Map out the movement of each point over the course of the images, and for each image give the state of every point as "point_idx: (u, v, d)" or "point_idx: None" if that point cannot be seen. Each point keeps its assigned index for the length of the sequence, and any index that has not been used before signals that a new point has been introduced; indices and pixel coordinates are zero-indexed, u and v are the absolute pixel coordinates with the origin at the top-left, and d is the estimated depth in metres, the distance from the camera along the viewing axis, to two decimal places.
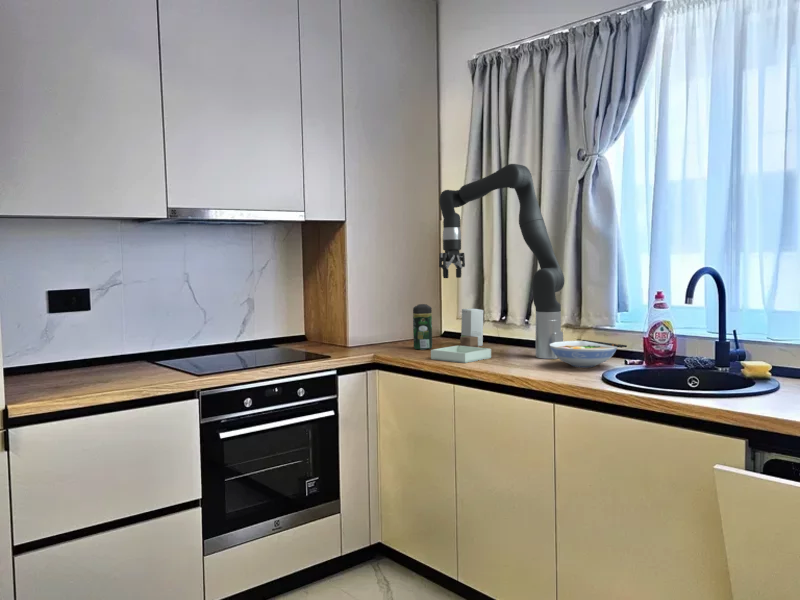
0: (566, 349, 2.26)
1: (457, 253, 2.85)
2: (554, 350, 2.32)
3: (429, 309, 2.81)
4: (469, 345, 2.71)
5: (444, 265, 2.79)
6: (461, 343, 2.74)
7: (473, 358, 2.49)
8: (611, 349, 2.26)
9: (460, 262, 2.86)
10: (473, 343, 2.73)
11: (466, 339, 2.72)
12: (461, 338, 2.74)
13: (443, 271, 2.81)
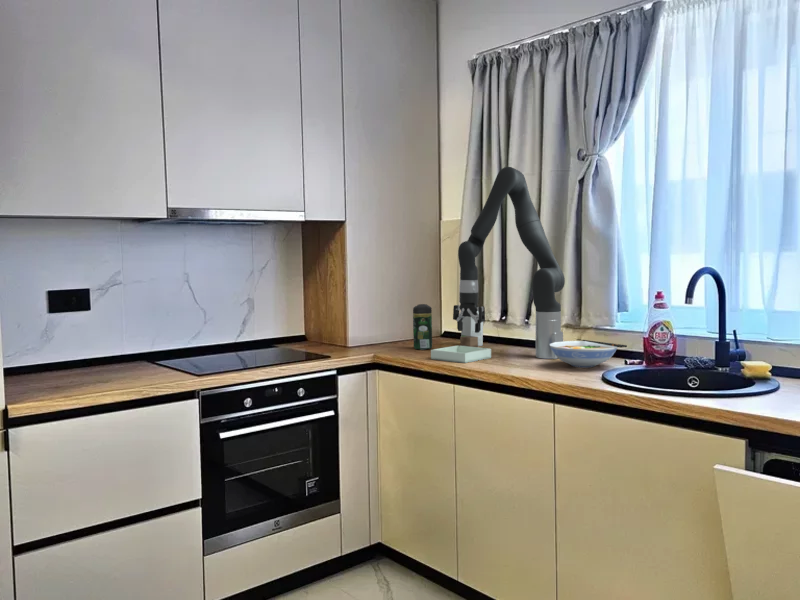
0: (566, 349, 2.26)
1: None
2: (554, 350, 2.32)
3: (429, 309, 2.81)
4: (469, 345, 2.71)
5: None
6: (461, 343, 2.74)
7: (473, 358, 2.49)
8: (611, 349, 2.26)
9: None
10: (473, 343, 2.73)
11: (466, 339, 2.72)
12: (461, 338, 2.74)
13: (478, 325, 2.71)
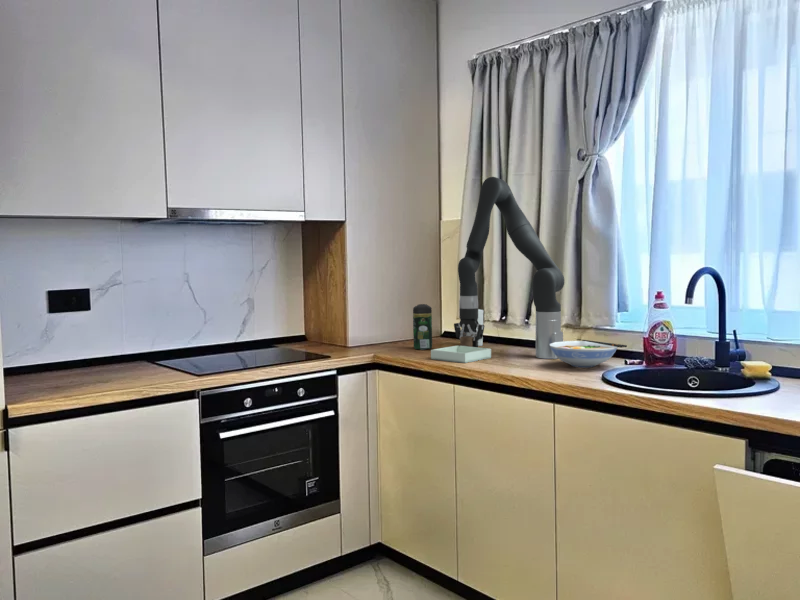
0: (566, 349, 2.26)
1: None
2: (554, 350, 2.32)
3: (429, 309, 2.81)
4: (469, 345, 2.71)
5: None
6: (461, 343, 2.74)
7: (473, 358, 2.49)
8: (611, 349, 2.26)
9: (466, 332, 2.77)
10: None
11: (466, 339, 2.72)
12: (461, 338, 2.74)
13: (476, 343, 2.72)
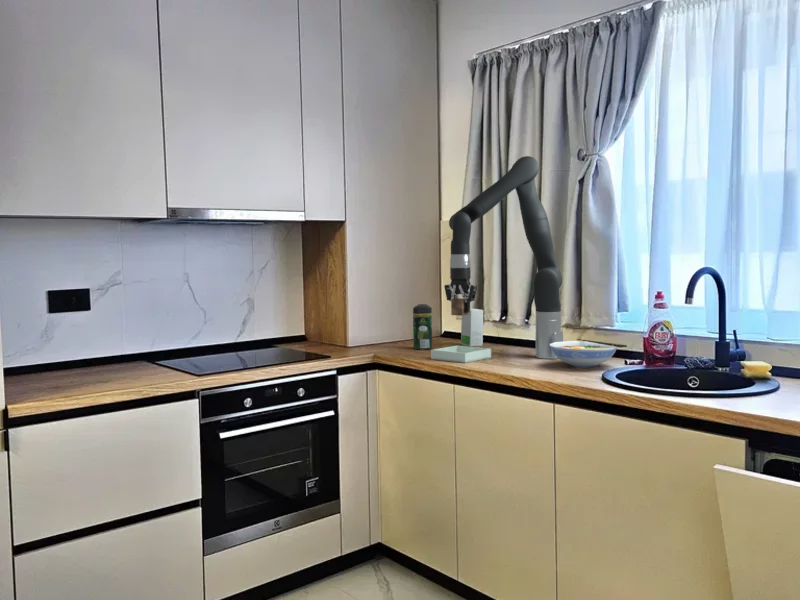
0: (566, 349, 2.26)
1: None
2: (554, 350, 2.32)
3: (429, 309, 2.81)
4: (461, 307, 2.52)
5: None
6: (452, 306, 2.55)
7: (473, 358, 2.49)
8: (611, 349, 2.26)
9: (457, 294, 2.58)
10: None
11: (457, 301, 2.53)
12: (452, 300, 2.54)
13: (468, 305, 2.52)
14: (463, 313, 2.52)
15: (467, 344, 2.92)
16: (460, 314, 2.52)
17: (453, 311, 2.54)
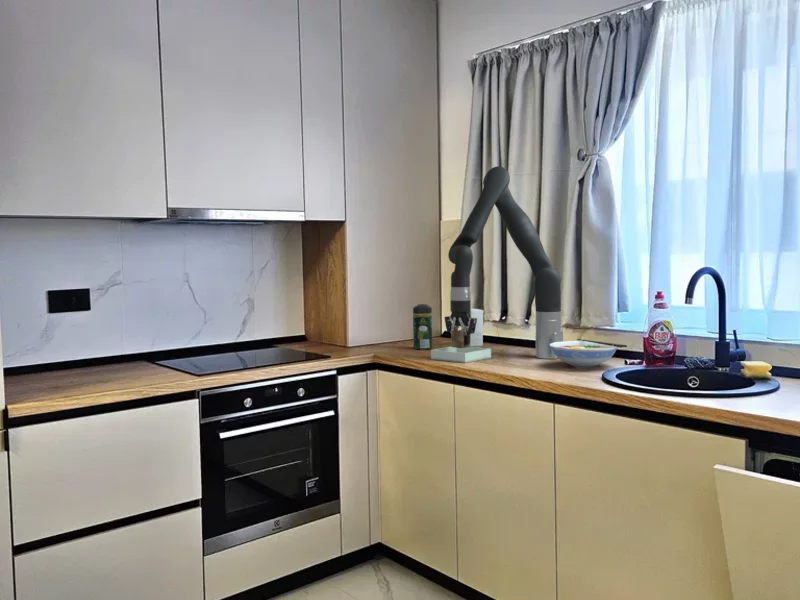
0: (566, 349, 2.26)
1: None
2: (554, 350, 2.32)
3: (429, 309, 2.81)
4: (460, 340, 2.53)
5: None
6: (452, 338, 2.56)
7: (473, 358, 2.49)
8: (611, 349, 2.26)
9: (457, 326, 2.59)
10: None
11: (457, 333, 2.54)
12: (452, 332, 2.55)
13: (468, 338, 2.53)
14: (463, 345, 2.53)
15: None
16: (460, 346, 2.53)
17: (453, 343, 2.55)
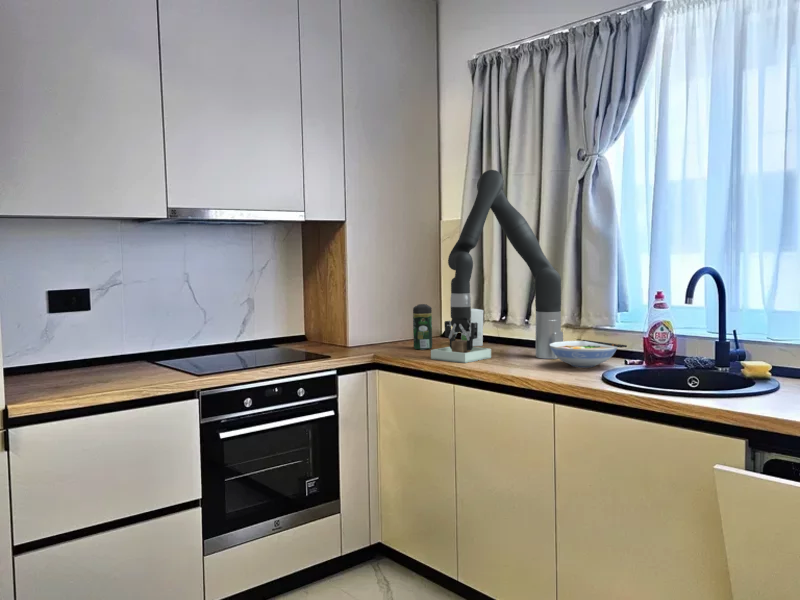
0: (566, 349, 2.26)
1: None
2: (554, 350, 2.32)
3: (429, 309, 2.81)
4: (461, 350, 2.53)
5: None
6: (452, 348, 2.56)
7: (473, 358, 2.49)
8: (611, 349, 2.26)
9: None
10: (465, 348, 2.54)
11: (458, 343, 2.54)
12: (452, 342, 2.55)
13: (470, 343, 2.52)
14: None
15: None
16: None
17: None
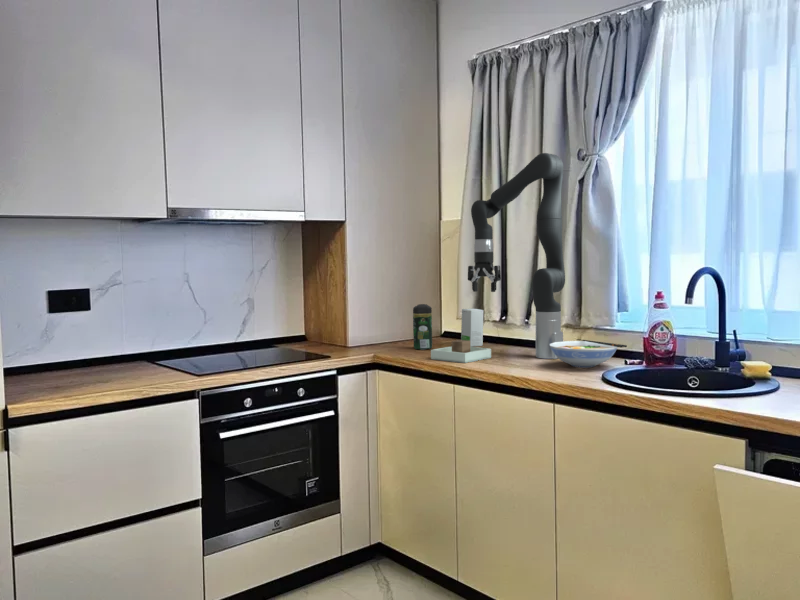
0: (566, 349, 2.26)
1: None
2: (554, 350, 2.32)
3: (429, 309, 2.81)
4: (461, 350, 2.53)
5: None
6: (452, 348, 2.56)
7: (473, 358, 2.49)
8: (611, 349, 2.26)
9: (479, 275, 2.77)
10: (465, 348, 2.54)
11: (458, 343, 2.54)
12: (452, 342, 2.55)
13: (494, 284, 2.70)
14: None
15: None
16: None
17: None
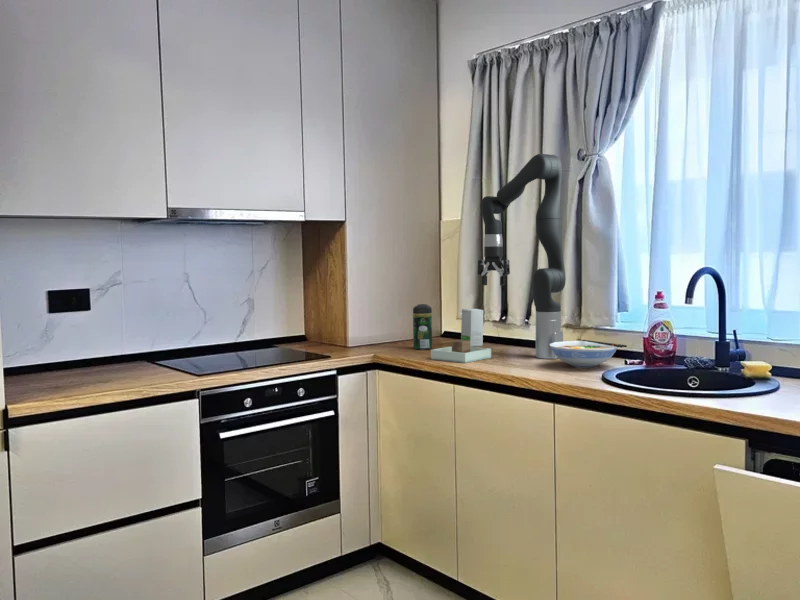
0: (566, 349, 2.26)
1: None
2: (554, 350, 2.32)
3: (429, 309, 2.81)
4: (461, 350, 2.53)
5: None
6: (452, 348, 2.56)
7: (473, 358, 2.49)
8: (611, 349, 2.26)
9: None
10: (465, 348, 2.54)
11: (458, 343, 2.54)
12: (452, 342, 2.55)
13: (503, 278, 2.77)
14: None
15: None
16: None
17: None
